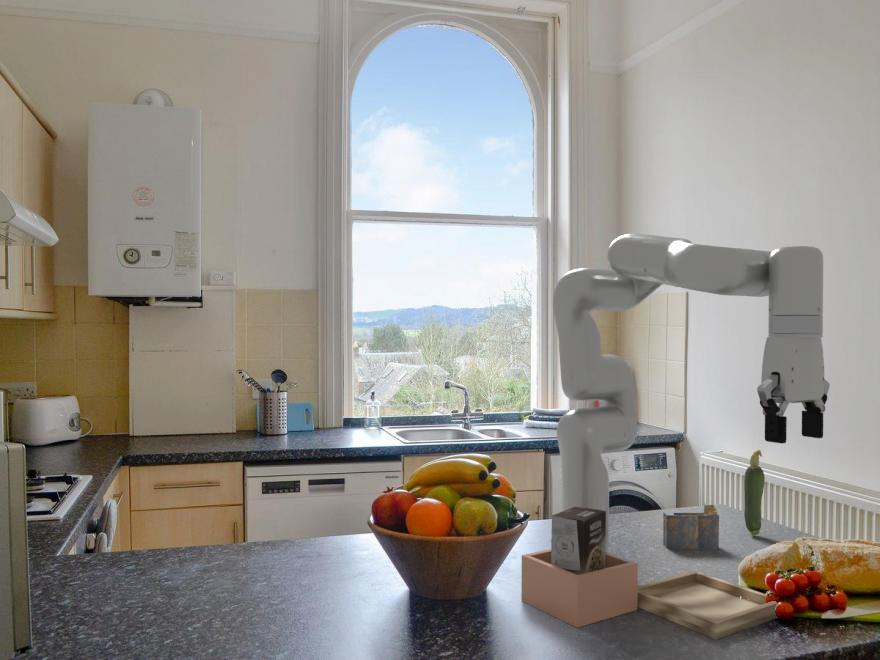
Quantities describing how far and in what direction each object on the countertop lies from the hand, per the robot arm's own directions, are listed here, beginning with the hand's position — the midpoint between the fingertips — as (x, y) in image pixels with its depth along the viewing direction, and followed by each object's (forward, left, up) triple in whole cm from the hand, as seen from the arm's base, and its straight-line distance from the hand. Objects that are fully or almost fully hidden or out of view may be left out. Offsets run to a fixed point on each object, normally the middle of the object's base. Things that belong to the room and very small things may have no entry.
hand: (794, 439), depth 114 cm
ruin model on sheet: (-41, +28, -32) cm, 59 cm away
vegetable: (-39, +48, -31) cm, 69 cm away
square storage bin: (-29, -17, -31) cm, 46 cm away
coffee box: (-29, -17, -31) cm, 46 cm away
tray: (-16, 0, -31) cm, 35 cm away
